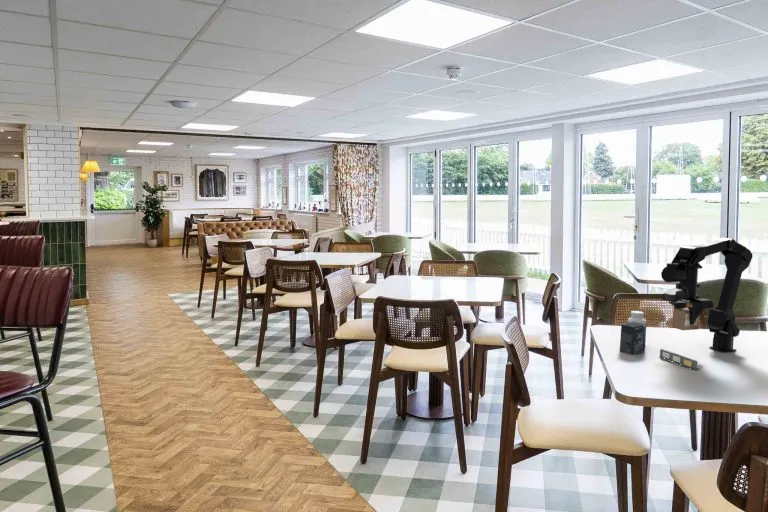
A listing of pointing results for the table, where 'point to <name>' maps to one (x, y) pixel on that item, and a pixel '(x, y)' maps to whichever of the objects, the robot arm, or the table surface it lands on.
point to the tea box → (683, 319)
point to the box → (633, 338)
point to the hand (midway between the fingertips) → (685, 323)
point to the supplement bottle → (637, 317)
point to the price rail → (679, 359)
